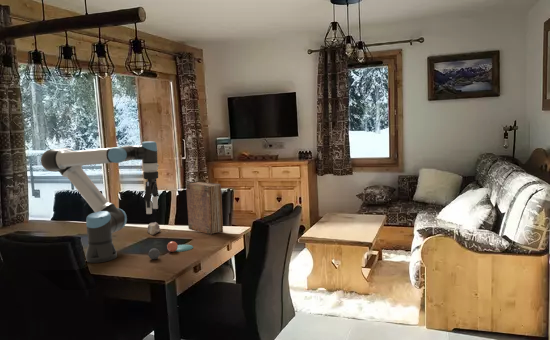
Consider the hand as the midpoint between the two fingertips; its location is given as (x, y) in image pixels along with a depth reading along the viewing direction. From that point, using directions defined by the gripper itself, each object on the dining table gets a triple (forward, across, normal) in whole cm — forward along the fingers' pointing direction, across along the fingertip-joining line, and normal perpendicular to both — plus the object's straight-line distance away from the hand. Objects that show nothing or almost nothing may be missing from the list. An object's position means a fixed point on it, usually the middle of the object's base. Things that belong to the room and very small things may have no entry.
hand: (152, 211), depth 237 cm
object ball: (+19, -2, -10) cm, 22 cm away
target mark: (+22, +4, -14) cm, 26 cm away
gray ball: (+19, -14, -3) cm, 24 cm away
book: (+22, +44, -22) cm, 53 cm away
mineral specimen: (+23, +43, +10) cm, 49 cm away
